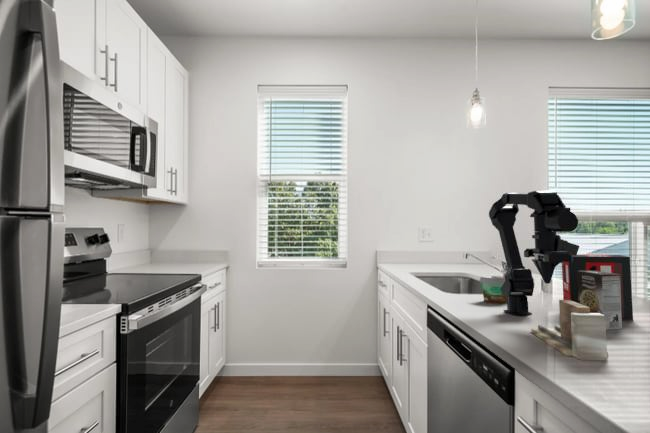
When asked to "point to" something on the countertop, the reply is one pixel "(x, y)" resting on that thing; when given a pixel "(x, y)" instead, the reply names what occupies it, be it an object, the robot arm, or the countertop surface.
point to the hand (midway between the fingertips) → (547, 283)
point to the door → (569, 316)
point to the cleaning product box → (603, 264)
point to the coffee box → (601, 295)
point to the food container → (493, 290)
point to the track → (579, 337)
